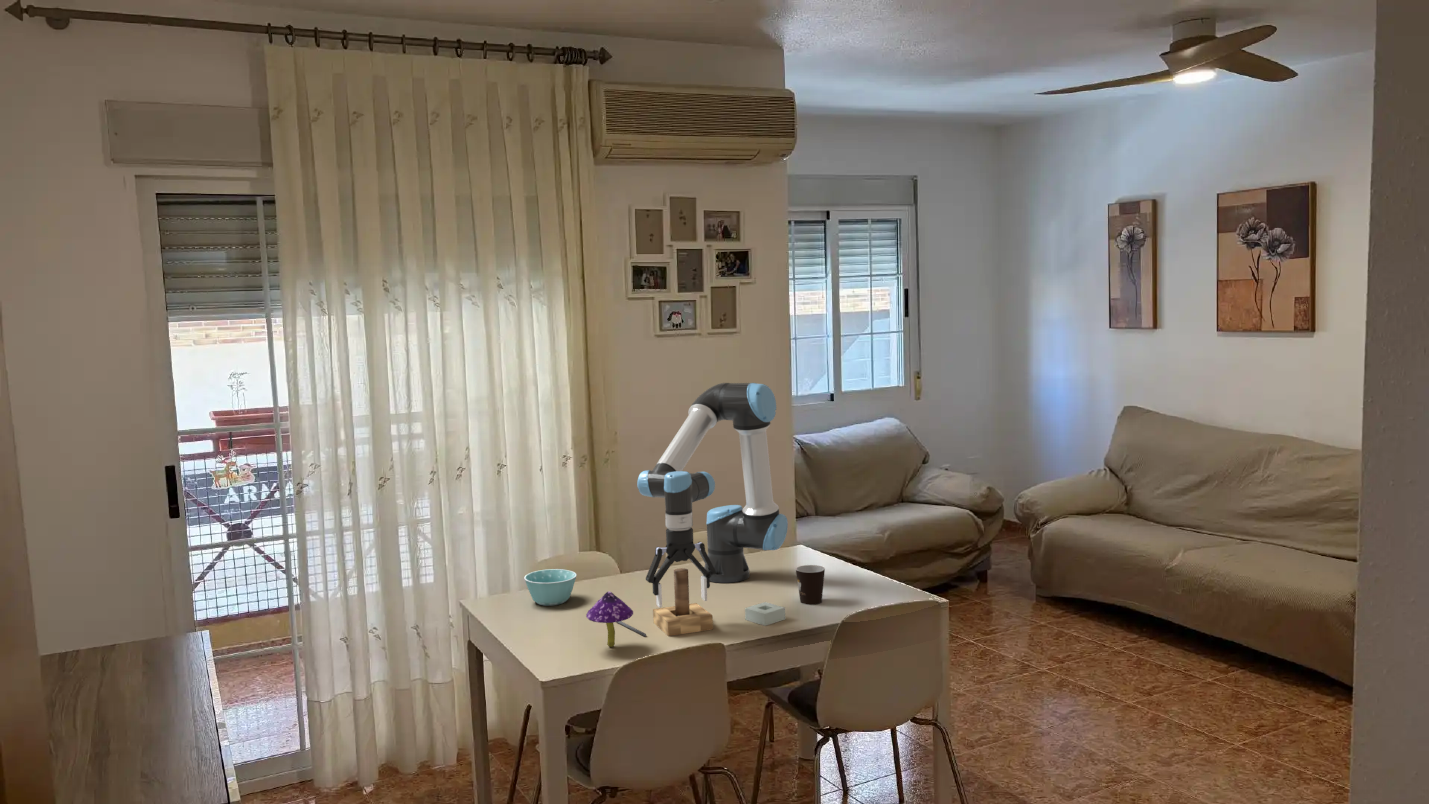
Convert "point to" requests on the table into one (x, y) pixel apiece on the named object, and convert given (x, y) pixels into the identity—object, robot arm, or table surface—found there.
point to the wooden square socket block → (682, 620)
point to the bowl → (550, 586)
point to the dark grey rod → (631, 628)
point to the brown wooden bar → (681, 592)
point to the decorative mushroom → (609, 613)
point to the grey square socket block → (765, 613)
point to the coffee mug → (810, 583)
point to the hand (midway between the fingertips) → (682, 603)
